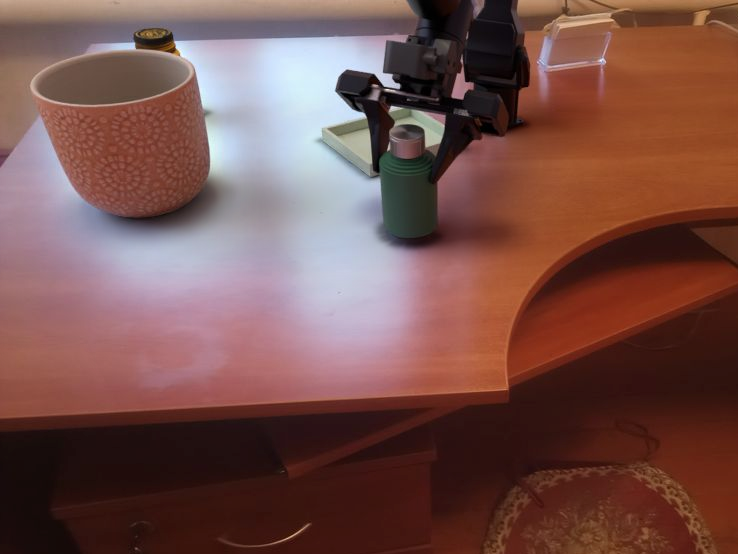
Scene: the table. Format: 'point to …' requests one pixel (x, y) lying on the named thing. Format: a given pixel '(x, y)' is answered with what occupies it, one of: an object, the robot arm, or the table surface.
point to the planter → (127, 129)
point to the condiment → (155, 40)
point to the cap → (407, 141)
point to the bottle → (408, 195)
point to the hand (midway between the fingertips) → (403, 177)
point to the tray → (356, 136)
